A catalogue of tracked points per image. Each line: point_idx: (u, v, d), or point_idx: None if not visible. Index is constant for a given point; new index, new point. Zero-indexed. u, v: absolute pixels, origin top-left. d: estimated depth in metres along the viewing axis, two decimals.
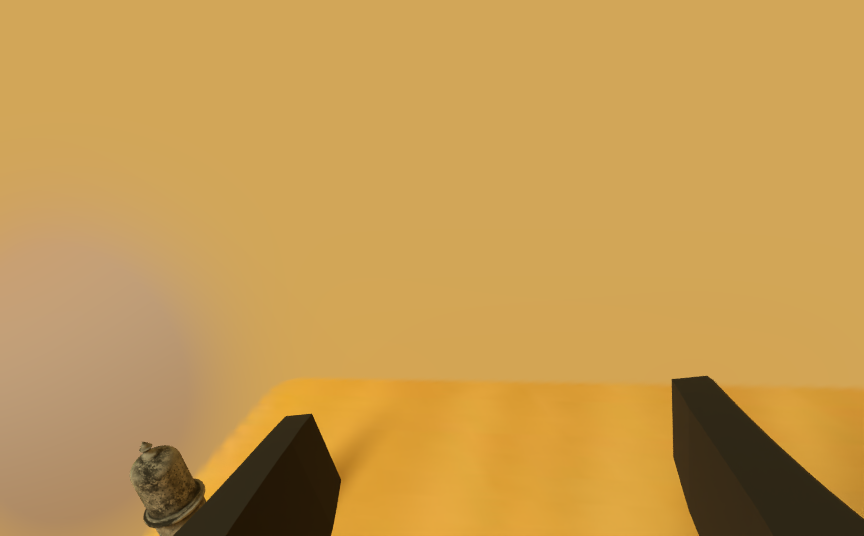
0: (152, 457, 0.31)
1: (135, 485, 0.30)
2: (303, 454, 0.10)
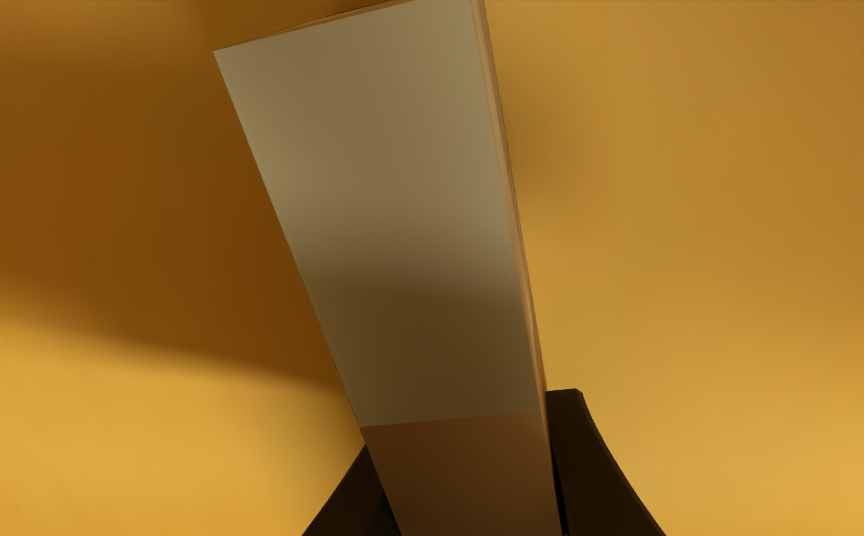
0: None
1: None
2: None
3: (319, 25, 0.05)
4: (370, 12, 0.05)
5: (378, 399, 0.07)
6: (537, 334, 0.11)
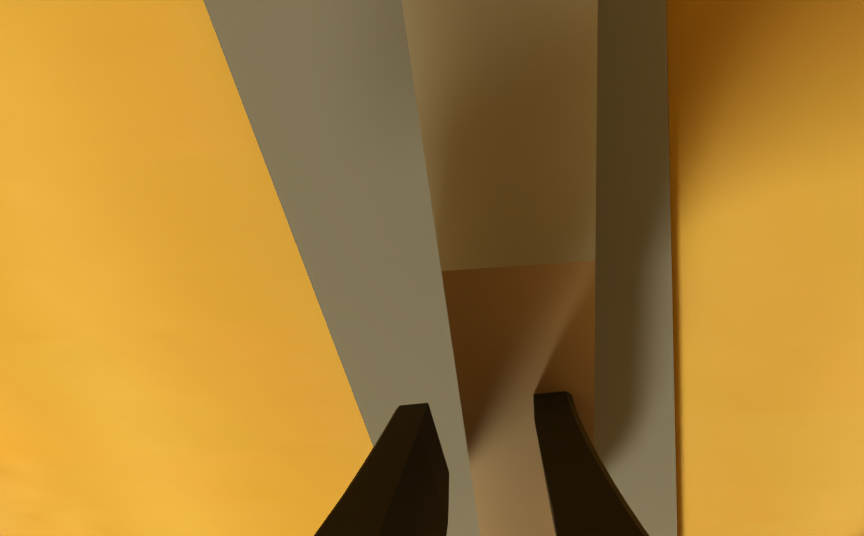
0: None
1: None
2: (426, 444, 0.10)
3: None
4: None
5: (462, 244, 0.09)
6: None
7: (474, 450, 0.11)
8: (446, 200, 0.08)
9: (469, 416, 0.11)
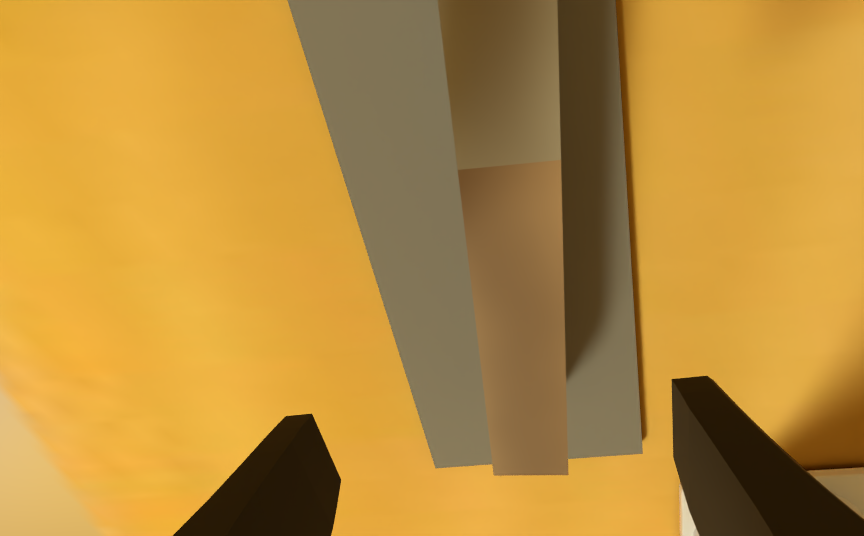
0: None
1: None
2: (303, 454, 0.10)
3: None
4: None
5: (472, 150, 0.13)
6: None
7: (479, 311, 0.15)
8: (461, 118, 0.13)
9: (475, 283, 0.15)
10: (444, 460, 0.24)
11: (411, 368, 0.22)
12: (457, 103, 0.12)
